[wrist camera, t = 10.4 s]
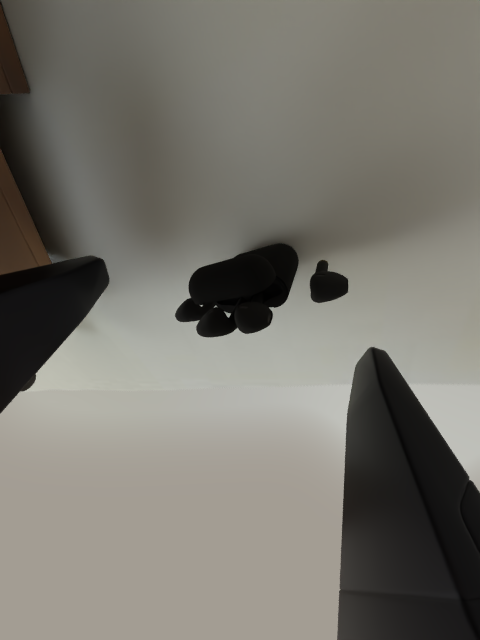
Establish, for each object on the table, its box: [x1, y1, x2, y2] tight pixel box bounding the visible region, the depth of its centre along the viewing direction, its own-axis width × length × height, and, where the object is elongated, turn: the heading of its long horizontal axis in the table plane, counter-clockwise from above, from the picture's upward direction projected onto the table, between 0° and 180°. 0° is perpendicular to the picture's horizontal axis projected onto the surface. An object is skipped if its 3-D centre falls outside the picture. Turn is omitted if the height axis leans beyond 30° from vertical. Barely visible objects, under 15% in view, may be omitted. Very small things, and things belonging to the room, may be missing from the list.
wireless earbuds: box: [175, 244, 348, 337], centre depth 10 cm, size 7×2×5 cm, turn 115°
